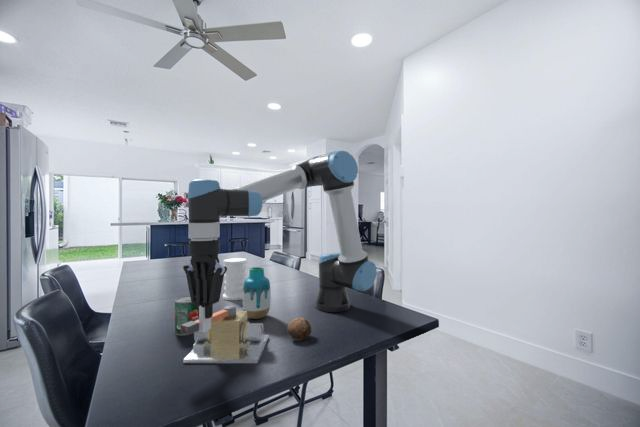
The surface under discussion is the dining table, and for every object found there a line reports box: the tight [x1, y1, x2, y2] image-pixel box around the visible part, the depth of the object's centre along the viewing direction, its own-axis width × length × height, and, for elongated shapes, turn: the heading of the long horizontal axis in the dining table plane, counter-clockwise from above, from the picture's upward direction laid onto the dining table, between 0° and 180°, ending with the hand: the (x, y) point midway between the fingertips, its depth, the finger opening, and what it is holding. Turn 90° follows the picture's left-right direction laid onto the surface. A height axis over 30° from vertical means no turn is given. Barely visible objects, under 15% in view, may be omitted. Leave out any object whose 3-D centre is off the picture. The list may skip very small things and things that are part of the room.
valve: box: [182, 310, 269, 364], centre depth 80 cm, size 20×15×10 cm
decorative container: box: [222, 257, 248, 301], centre depth 133 cm, size 12×12×18 cm
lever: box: [181, 305, 237, 336], centre depth 75 cm, size 17×4×2 cm, turn 153°
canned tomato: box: [174, 295, 199, 337], centre depth 94 cm, size 8×8×11 cm
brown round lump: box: [286, 317, 312, 342], centre depth 89 cm, size 8×8×6 cm
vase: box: [242, 266, 272, 320], centre depth 105 cm, size 11×11×19 cm
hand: (205, 329), depth 71 cm, fingers closed
